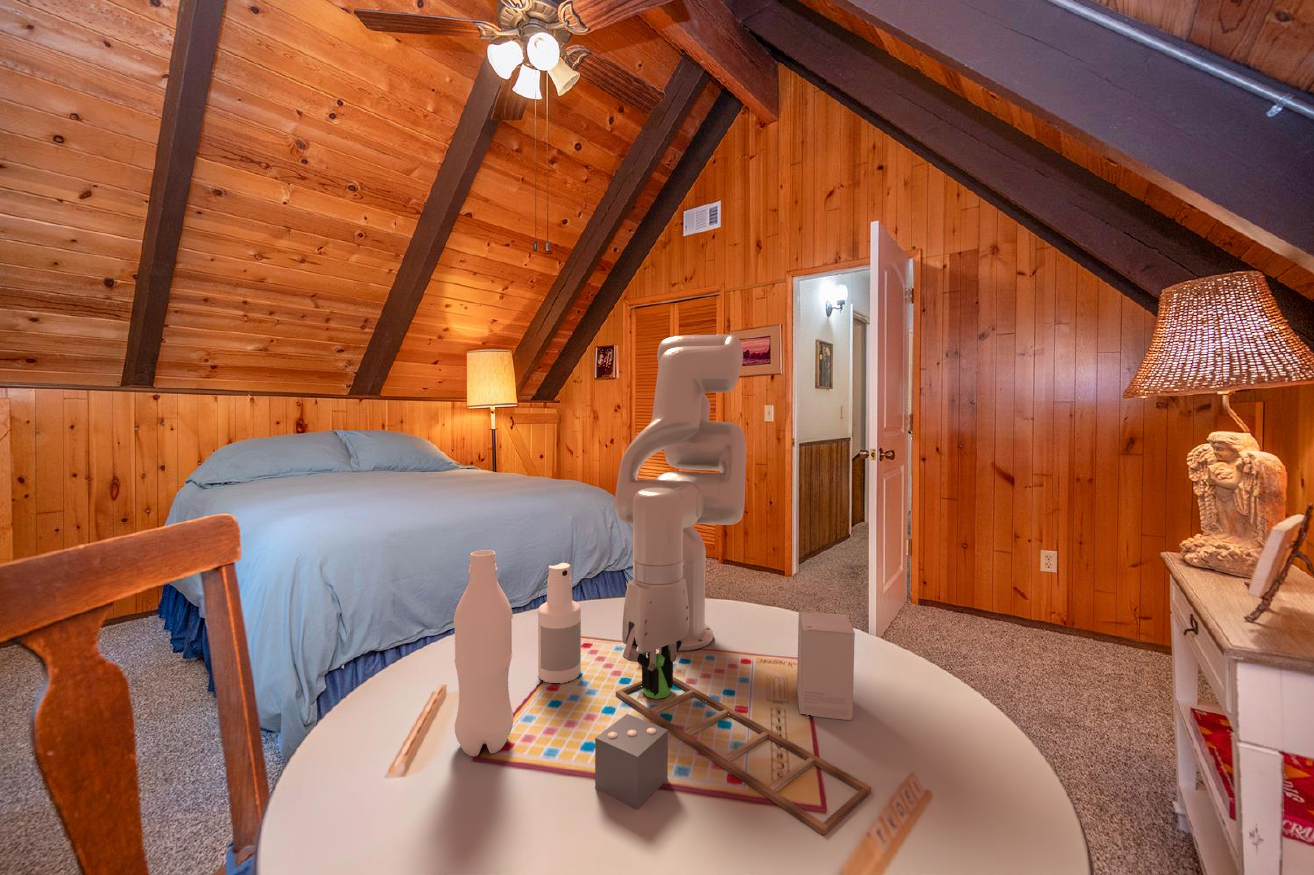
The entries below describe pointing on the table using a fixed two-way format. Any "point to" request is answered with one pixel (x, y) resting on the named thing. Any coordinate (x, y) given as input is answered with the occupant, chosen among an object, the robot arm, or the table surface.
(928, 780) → the table surface
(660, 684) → the game piece
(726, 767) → the track board
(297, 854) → the table surface
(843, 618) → the supplement box
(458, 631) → the water bottle
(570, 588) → the spray bottle
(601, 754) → the die
